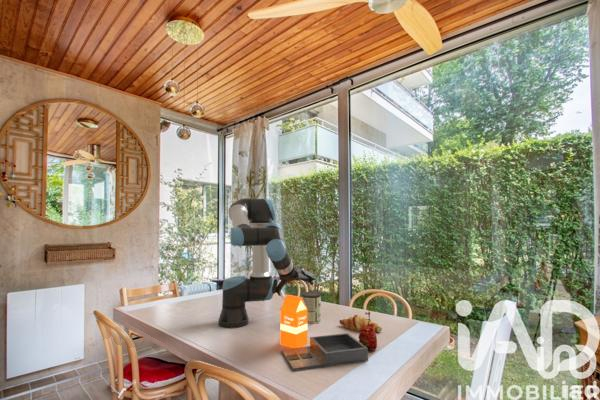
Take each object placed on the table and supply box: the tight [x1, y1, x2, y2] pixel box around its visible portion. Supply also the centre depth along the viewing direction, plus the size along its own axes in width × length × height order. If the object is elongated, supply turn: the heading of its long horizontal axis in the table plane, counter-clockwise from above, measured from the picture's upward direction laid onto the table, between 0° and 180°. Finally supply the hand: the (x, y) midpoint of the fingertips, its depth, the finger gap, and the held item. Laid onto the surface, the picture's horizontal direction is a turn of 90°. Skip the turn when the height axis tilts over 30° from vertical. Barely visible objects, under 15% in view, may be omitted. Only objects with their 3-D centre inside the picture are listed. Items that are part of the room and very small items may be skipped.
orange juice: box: [279, 294, 308, 349], centre depth 131 cm, size 8×9×20 cm
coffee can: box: [301, 291, 322, 325], centre depth 163 cm, size 10×10×14 cm
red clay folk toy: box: [358, 310, 378, 352], centre depth 126 cm, size 8×7×15 cm
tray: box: [281, 332, 369, 372], centre depth 118 cm, size 29×17×4 cm, turn 107°
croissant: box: [339, 314, 383, 333], centre depth 150 cm, size 21×10×8 cm
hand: (297, 292), depth 143 cm, fingers open, 13 cm apart
